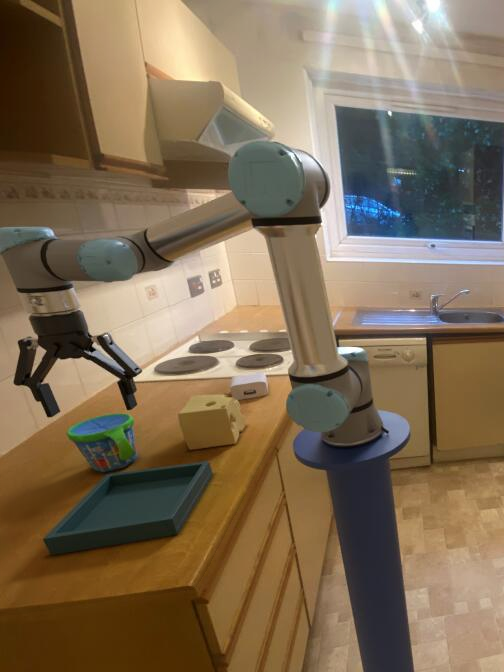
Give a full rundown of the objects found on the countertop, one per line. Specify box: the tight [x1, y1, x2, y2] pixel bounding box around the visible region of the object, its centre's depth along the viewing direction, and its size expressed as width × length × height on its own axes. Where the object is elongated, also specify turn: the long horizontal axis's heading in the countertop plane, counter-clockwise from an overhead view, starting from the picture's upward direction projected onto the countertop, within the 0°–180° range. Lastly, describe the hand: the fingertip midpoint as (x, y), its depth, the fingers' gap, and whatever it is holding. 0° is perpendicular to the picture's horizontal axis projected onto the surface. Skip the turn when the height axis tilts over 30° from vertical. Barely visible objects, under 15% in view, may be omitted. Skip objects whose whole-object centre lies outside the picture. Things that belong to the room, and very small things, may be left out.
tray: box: [42, 460, 214, 556], centre depth 82 cm, size 18×19×4 cm
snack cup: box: [66, 413, 138, 473], centre depth 95 cm, size 16×10×10 cm
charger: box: [229, 371, 269, 401], centre depth 135 cm, size 5×9×15 cm
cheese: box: [177, 393, 247, 451], centre depth 106 cm, size 10×11×10 cm
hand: (94, 411), depth 91 cm, fingers open, 13 cm apart
